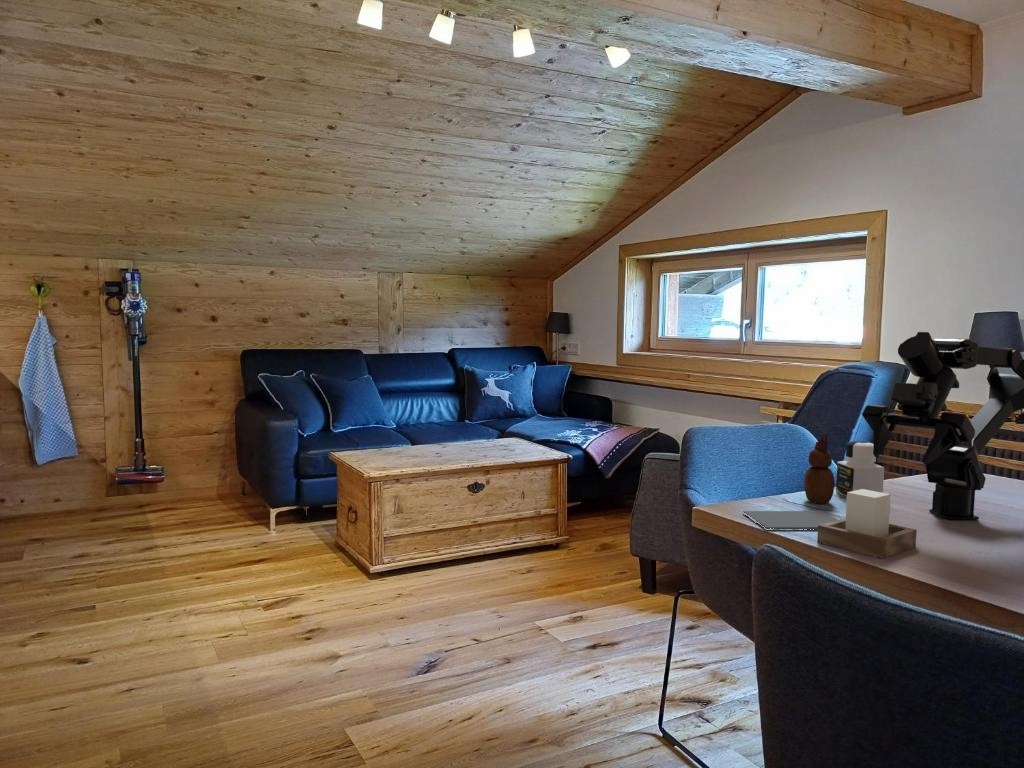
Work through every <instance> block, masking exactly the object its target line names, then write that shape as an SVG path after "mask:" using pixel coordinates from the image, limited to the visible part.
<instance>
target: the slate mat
mask: <svg viewBox="0 0 1024 768" xmlns="http://www.w3.org/2000/svg"><path fill="white" fill-rule="evenodd" d="M743 512H744V513H746V514H747V515H749V516H750V517H752V518H753V519H755V520H756V521H757V522H759V523H760V524H761V525H762V526H764V527H765V528H766V529H770V528H771V529H773V528H774V529H803V530H802V531H805V530H804V529H807V530H806V531H818V525H821V524H824V523H828V522H832V521H835V520H839V519H838V518H836V517H834V516H832V515H830V514H828V513H826V512H825V511H823V510H743V511H742V513H743ZM810 529H811V530H810ZM813 529H814V530H813Z"/></svg>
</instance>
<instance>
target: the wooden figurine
mask: <svg viewBox="0 0 1024 768" xmlns="http://www.w3.org/2000/svg"><path fill="white" fill-rule="evenodd" d="M820 435H821V436H820V438H818V440H817V441H815V445H814V449H812V450H810V452H809V455H808V463H809V465H810V467H808V468H807V470H806V471H805V473H804V474H805V475H804V479H803V480H804V481H803V486H804V493H805V497H806V499H807V500H808V501H809V502H810V503H813V504H818V505H824V504H828V503H829V502H831V500H832V498H833V495H834V492H835V491H834V490H835V476H834V473H833V471H832V470H831V468H830V467H831V466H832V464H833V463H832V462H833V461H832V460H833V457H832V453H831V451H829V450H828V433H825V435H823V434H820Z"/></svg>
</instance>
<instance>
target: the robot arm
mask: <svg viewBox="0 0 1024 768" xmlns="http://www.w3.org/2000/svg"><path fill="white" fill-rule="evenodd" d="M897 353H898V356H899V357H900V358H901V360H902V362H903V363H904V365H905V366H906V368H907V369H908V370H909V372H910V373H911V374H912V375H913V376H914V377H918V380H917V382H916V383H912V382H911V383H910V382H894V383H893V386H892V391H891V394H890V395H891V396H890V398H889V399H890V400H891V401H894V402H896V403H898V404H897V405H896V407H897V409H898V411H900V412H902V413H901V414H900V413H892V412H891V410H890V408H889V407H888V405H877V404H867V405H866V406H865V407H864V409H863V411H862V413H861V416H862V418H864V420H865V421H866V423H867V425H868V426H869V428H870V429H871V430H872V431H873V444H874V445H873V455H874V456H875V457H876V458H878V457H879V456H880V455H881V453H883V451H884V449H885V447H886V446H887V445H888V443H889V442H890V439H891V438H892V437H893V433H892V432H894V430H895V428H896V426H905V427H913V428H917V429H924V430H933V431H934V434H933V437H932V438H931V441H930V442H929V445H928V447H927V449H926V451H925V453H924V455H923V458H922V463H923V465H925V471H926V476H927V477H926V478H927V481H928V483H930V484H935V488H934V490H933V492H932V502H931V503H932V505H931V506H932V507H931V508H929V510H928V512H929V513H931V514H934V515H936V516H939V517H941V518H944V519H946V520H980V517H979V515H975V501H976V500H975V499H976V497H975V496H976V491H982V489H983V488H984V486H985V483H986V476H985V474H984V472H983V471H982V469H981V467H980V466H981V464H980V457H979V454H980V453H981V451H983V449H984V448H985V447H986V446H987V445H988V443H989V442H990V440H992V438H993V437H994V436H996V434H997V432H999V430H1000V429H1001V428H1002V426H1003V425H1004V424H1005V423H1006V422H1007V421H1008V420H1009V419H1010V417H1011V416H1012V415H1013V414H1014V413H1016V412H1018V411H1021V410H1024V358H1023V355H1022V354H1021V351H1020V350H1018V349H1016V348H1013V347H1012V348H1011V347H990V346H989V347H988V346H980V345H979V343H978V342H976V341H973V340H971V339H969V338H944V337H943V338H942V337H941V338H939V337H938V338H934V339H933V338H932V336H931V334H930V333H929V331H917V333H916V335H914V336H911V337H909V338H907V339H906V340H904V341H903V342H902V343H900V344H899V345H898V348H897ZM977 365H979V366H988V367H989V372H988V373H987V377H986V380H987V383H988V385H989V387H988V389H989V393H990V397H989V399H988V400H987V401H986V402H985V403H984V404H983V406H982V407H981V408H980V409H979V410H978V412H977V413H976V414H975V415H974V416H973V417H972V418H971V419H970V418H969V417H968V415H967V414H966V413H962V412H952V411H946V410H947V407H948V406H947V405H946V400H947V398H948V396H949V395H950V392H951V390H952V389H960V382H959V380H958V379H957V374H956V373H955V372H954V370H953V369H957V370H958V369H960V370H968V369H973V368H976V367H977ZM998 368H1003V369H1004V368H1006V369H1012V371H1013V372H1014V373H1006V372H1005V373H1004V372H999V370H998Z"/></svg>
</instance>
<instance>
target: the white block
mask: <svg viewBox="0 0 1024 768" xmlns="http://www.w3.org/2000/svg"><path fill="white" fill-rule="evenodd" d="M845 509H846V510H845V511H846V512H845V518H846V526H845V530H849V531H853V532H858V533H862V534H866V535H870V536H875V537H879V538H880V537H883V536H886V535H888V532H889V524H890V510H891V494H890V493H885V492H883V493H881V492H876V491H871V490H865V489H860V490H856V491H851V492H847V497H846V508H845Z"/></svg>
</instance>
